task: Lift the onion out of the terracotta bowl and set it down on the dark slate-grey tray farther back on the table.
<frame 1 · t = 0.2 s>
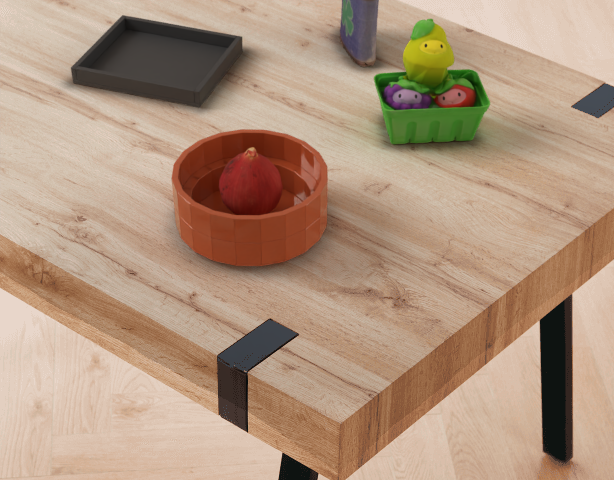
bowl: (252, 223, 103), on the table
tray: (160, 67, 124), on the table
onion: (252, 219, 103), resting on bowl
fruit basket: (426, 128, 117), on the table
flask: (356, 49, 129), on the table
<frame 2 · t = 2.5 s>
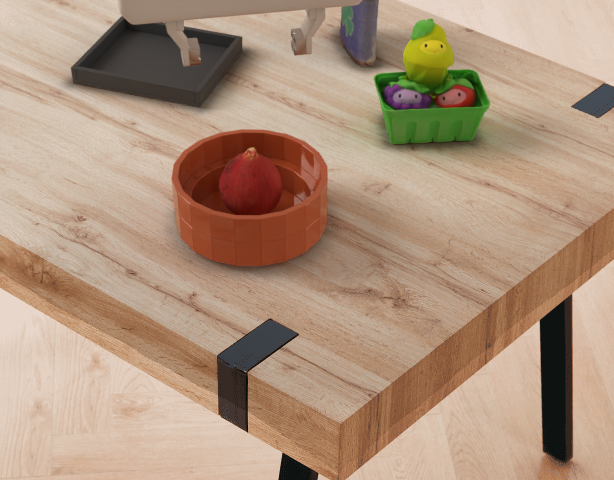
hand: (247, 57, 91), 18 cm above the table, tool pointing down, fingers open, 8 cm apart
nothing on the table moved.
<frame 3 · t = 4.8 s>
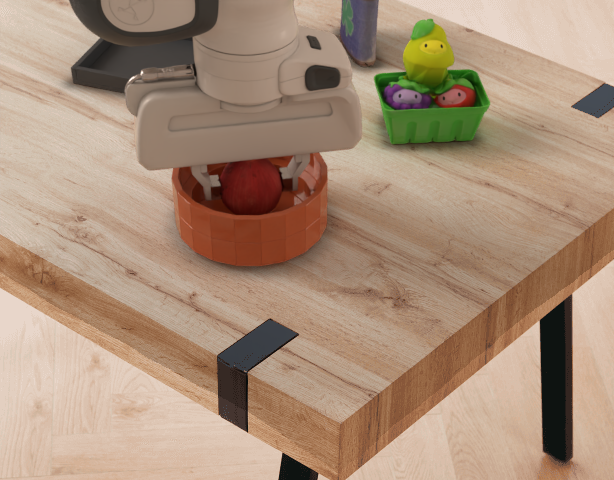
hand: (251, 192, 100), 4 cm above the table, tool pointing down, fingers closed on onion, 6 cm apart
onion: (251, 219, 103), resting on bowl, touching gripper
everything else where it was.
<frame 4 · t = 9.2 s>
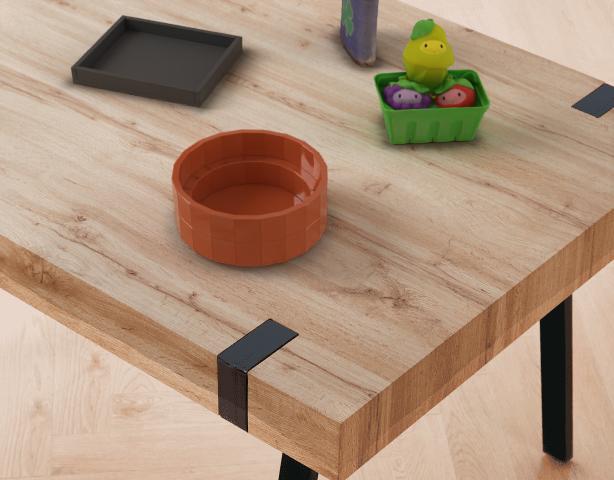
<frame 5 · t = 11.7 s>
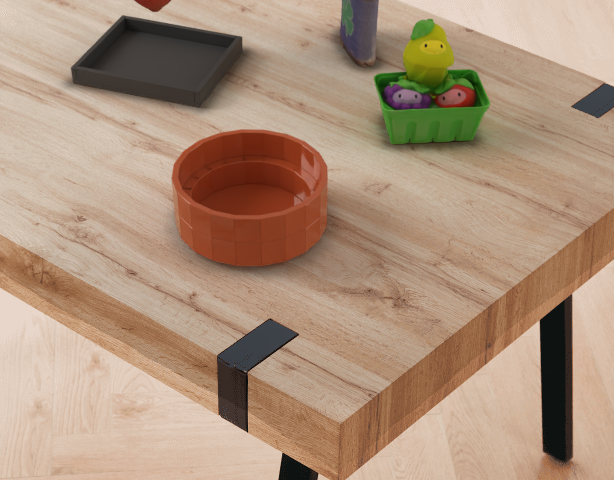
onion: (154, 12, 119), point 7 cm above the table, touching gripper
everything else where it was.
when the fingers open (3 cm above the table, at t = 13.8 s): onion stays where it is, resting on tray.
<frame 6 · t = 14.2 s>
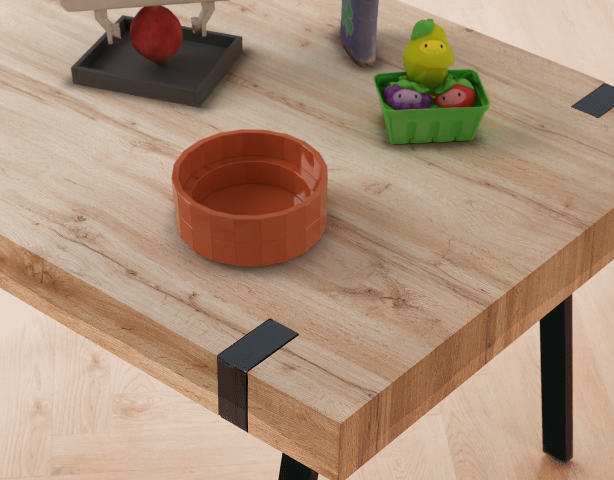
hand: (157, 38, 121), 4 cm above the table, tool pointing down, fingers open, 8 cm apart
onion: (159, 64, 123), resting on tray
everything else where it was.
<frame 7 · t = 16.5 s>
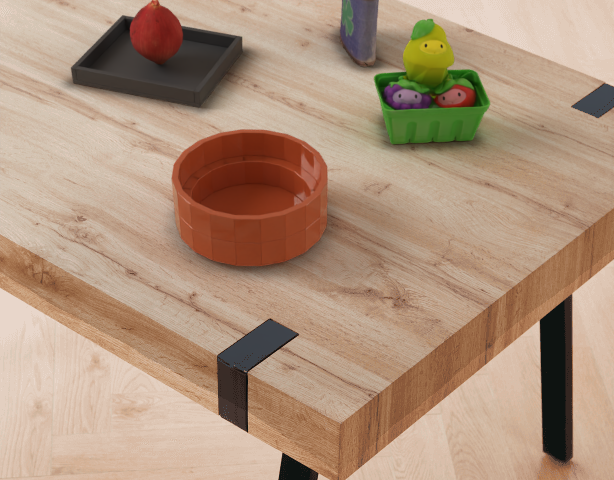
nothing on the table moved.
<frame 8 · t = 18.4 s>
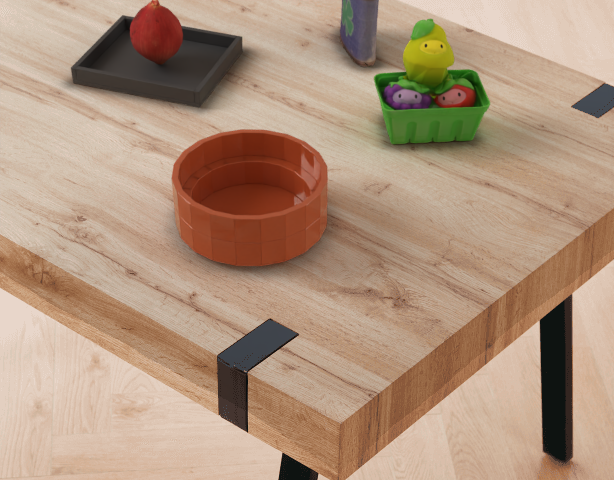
nothing on the table moved.
at the end: onion inside the target area in the tray (0.1 cm from its centre), point 0.3 cm above the tray's base; onion touching tray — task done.
